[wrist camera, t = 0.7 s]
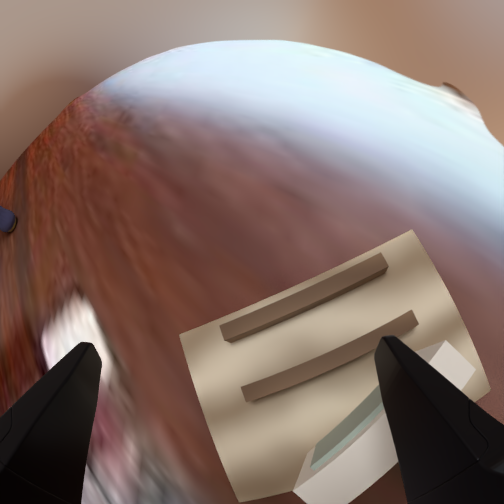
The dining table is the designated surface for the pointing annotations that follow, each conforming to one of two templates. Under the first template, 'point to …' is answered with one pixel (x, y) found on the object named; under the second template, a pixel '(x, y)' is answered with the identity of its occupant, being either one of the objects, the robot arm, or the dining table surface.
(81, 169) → the dining table surface
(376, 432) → the white block
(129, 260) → the dining table surface
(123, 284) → the dining table surface
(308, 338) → the display stand
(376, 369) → the robot arm
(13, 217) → the rubber mallet
